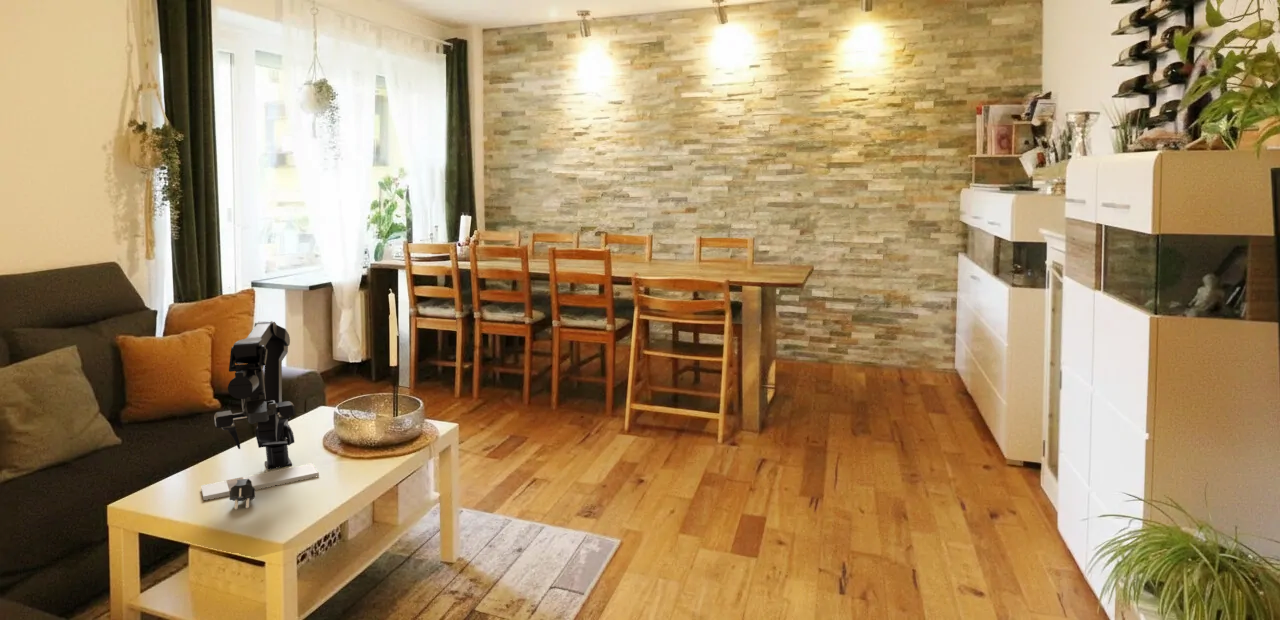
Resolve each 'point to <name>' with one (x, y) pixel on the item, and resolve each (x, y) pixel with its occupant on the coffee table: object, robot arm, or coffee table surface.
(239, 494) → the power plug
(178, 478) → the coffee table surface
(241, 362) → the robot arm
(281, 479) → the board
